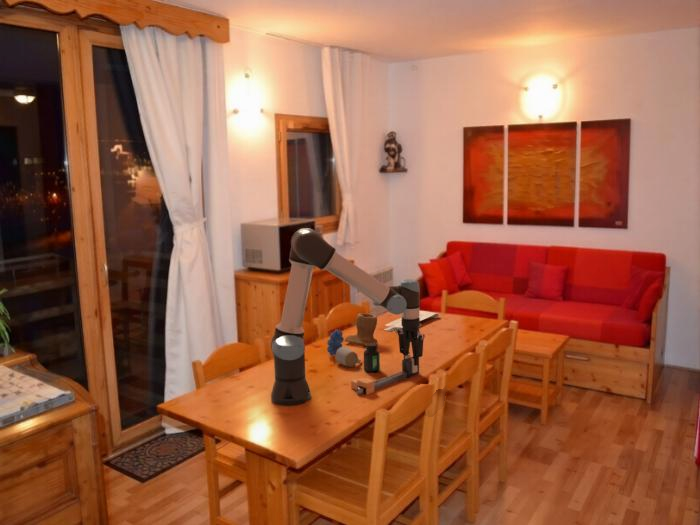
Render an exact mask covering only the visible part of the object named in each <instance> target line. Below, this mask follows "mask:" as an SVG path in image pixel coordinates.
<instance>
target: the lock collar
mask: <svg viewBox="0 0 700 525" xmlns="http://www.w3.org/2000/svg"><path fill="white" fill-rule="evenodd" d="M374 381H375V380H372V379H370V378H367V377H362V378H359V379H358V378H355V379H352V380H351V381H350V388H351V389H352V390H355V391H357V387H360V386H361V387H364V388H366V391H365V394H366V395H370V394H372V393H375V390H374ZM366 395H365V396H366Z"/></svg>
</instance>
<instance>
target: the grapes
mask: <svg viewBox="0 0 700 525" xmlns="http://www.w3.org/2000/svg"><path fill="white" fill-rule="evenodd" d="M344 342H345V338H344V337H343V331H341V330H339V329H335V330H334V331H333V332H331V333H330V334H329V339H328V340H327V342H326V344H327V346H328V347H326V348H327V349H326V350H327V352H328V353H329V356H331V357H333V356H335V355H336V352H337V350H338V349H339V348H340V347H343V344H342V343H344Z"/></svg>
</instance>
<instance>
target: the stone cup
mask: <svg viewBox="0 0 700 525" xmlns="http://www.w3.org/2000/svg"><path fill="white" fill-rule="evenodd" d="M377 324H378V317H377V315H375V314H370V313H363V312H362V313H358V314H357V316H356V319H355V325H356V331H357V332H356V334H350V335H348V336H346V337H345V338H344V342H345V343H346V342H347V343H351V344H356V345H363V346H366V344H367V343H376V344H377V343H378V340H377V339H376V338H375V337H374V334H375V330H376V328H377Z"/></svg>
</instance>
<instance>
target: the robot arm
mask: <svg viewBox="0 0 700 525" xmlns="http://www.w3.org/2000/svg"><path fill="white" fill-rule="evenodd" d="M290 245H291V246H290V247H291V248H290V251H289V258H288V261H289V263H290V264H291V266H290V271H289V272H290V273H289V277H288V282H287V287H286V293H285V298H284V303H283V309H282V313H281V317H280V322H279V323H278V324H276V325H275V327H274V328H275V329H274V334H273V336H272V338H271V342H270V349H271V351H272V356H273V362H274V363H273V366H274V383H273V386H272V387H273V388H272V390H271V393H270V397H271V398H270V399H271V402H272V403H273V404H275V405H278V406H284V407H294V406H298V405H299V406H300V405H303V404H305V403H307V402H308V401H310V399H311V398H312V397H311V396H312V394H311V389H310V386H309V383H308V381H307V378H306V357H305V352H306V351H305V350H306V346H305V341H304V337H305V336H304V335H305V329H304V328H303V321H304V317H305V311H306V305H307V302H308V301H307V300H308V296H309V292H310V287H311V286H310V285H311V281H312V277H313V271H314V268H318V269H319V270H321V271H327V272H329V273H331V275H334V276H335V277H336V278H338V279H340V280H341V281H343V282H345V283H346V284H348V285H349V286H351V287H352V288H354V289H355V290H357V291H358V292H359V293H361V294H363V295H365V296H366V297H367V298H369V299H370V300H371V302H372V304H373V305H374V306H377V307H383V308H384V309H385V310H387V311H388V312H389V313H390V314H392V315H396V316H398V315H401V317H400V318H401V321H402V329H400V328H399V329H400V330H398V329H397V332H396V334H397V336H398V344H399V345H398V347H399V353H400V354H402V355H403V360H404V359H407V358H410V357H412V373H415V372H417V365H418V364H419V365H420V362H419V363H418V358H419V359H420V358H421V357H423V354H424V353H423V352H424V339H425V338H426V336H425V333H424V334H422V333H421V332H420V329H419V328H420V327H421V326H420V324H421V323H420V322H421V321H420V318H419V316H420V311H421V310H420V282H419V281H418V280H416V279H411V278H410V279H403V280H401V282H400V284H399V285H391V286H387V285H386V284H384V283H383V282H381V281H380V280H378V279H377V278H375V277H374V276H372V275H371V274H369V273H368V272H367V271H365V270H364V269H362V268H361V267H359V266H357V264H355V263H353V262H352V261H350V260H348V259H347V258H345V257H344V256H342V255H341V254H340V253H338V252H337V249H336V247H333V246H332V245H331V244H329V243H328V242H327V241H326V239H324V238H323V237H322V235H320V234H319V232H318V231H316V230H315V229H314V228H313V229H312V228H308V227H304V228H300V229H298V230H297V231H295V232H294V233H293V235H292V236H291V240H290ZM410 347H411V351H412V356H411V352H410Z"/></svg>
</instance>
